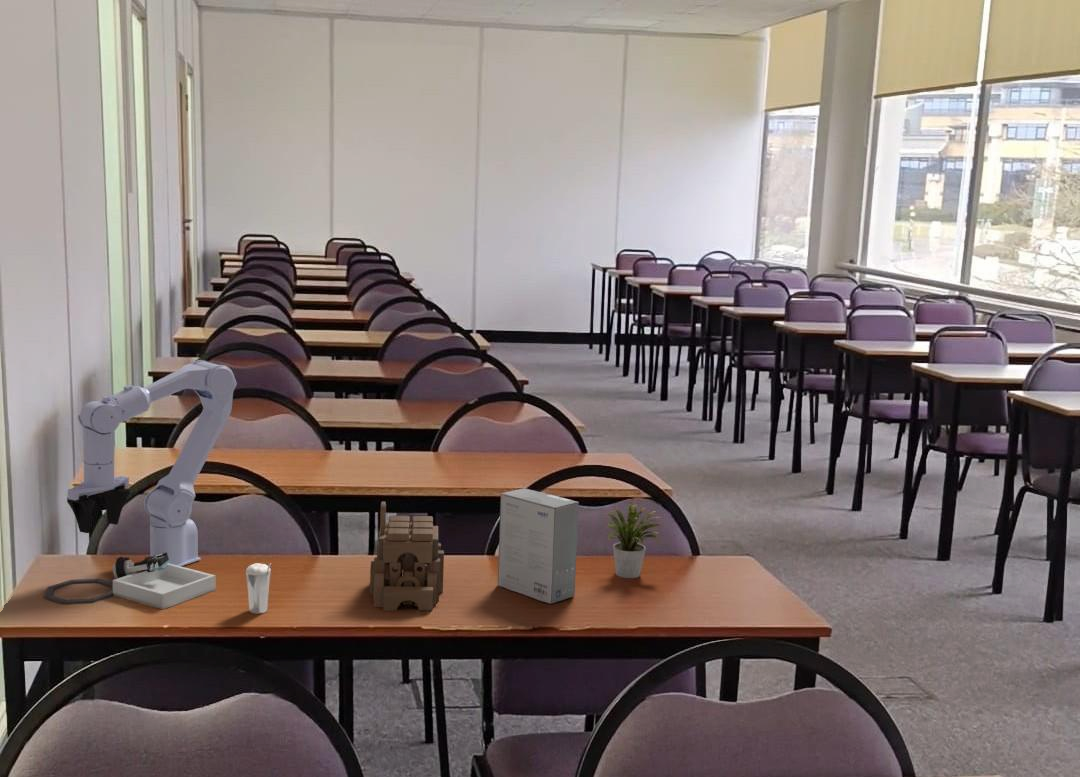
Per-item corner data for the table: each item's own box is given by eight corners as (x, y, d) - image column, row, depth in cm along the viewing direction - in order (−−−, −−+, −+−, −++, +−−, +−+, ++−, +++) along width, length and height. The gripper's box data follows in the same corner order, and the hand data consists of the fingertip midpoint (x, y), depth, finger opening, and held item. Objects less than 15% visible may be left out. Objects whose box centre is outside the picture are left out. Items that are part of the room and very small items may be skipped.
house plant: (623, 591, 237) (627, 514, 234) (579, 572, 248) (583, 499, 245) (671, 579, 246) (676, 505, 243) (627, 562, 257) (631, 491, 254)
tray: (166, 576, 234) (166, 562, 234) (215, 589, 228) (215, 575, 227) (112, 595, 222) (112, 580, 222) (162, 609, 216) (162, 594, 215)
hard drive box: (576, 597, 232) (580, 502, 229) (550, 605, 227) (555, 508, 224) (521, 578, 243) (524, 486, 240) (495, 585, 237) (499, 492, 234)
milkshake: (261, 617, 214) (261, 566, 212) (240, 611, 217) (240, 560, 215) (278, 611, 218) (279, 560, 216) (258, 604, 220) (258, 555, 219)
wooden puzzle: (443, 611, 221) (446, 518, 218) (367, 611, 220) (368, 517, 217) (442, 574, 243) (444, 489, 240) (373, 574, 242) (374, 488, 239)
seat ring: (86, 576, 232) (86, 574, 232) (131, 589, 226) (131, 587, 226) (30, 594, 221) (30, 592, 221) (76, 608, 215) (76, 606, 215)
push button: (154, 553, 223) (105, 564, 224) (161, 579, 224) (112, 590, 224) (166, 544, 230) (118, 555, 230) (172, 569, 231) (125, 580, 231)
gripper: (110, 453, 236) (110, 517, 238) (55, 465, 223) (56, 532, 225) (136, 457, 234) (136, 522, 236) (83, 470, 220) (83, 538, 222)
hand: (99, 527), depth 230 cm, fingers open, 7 cm apart
